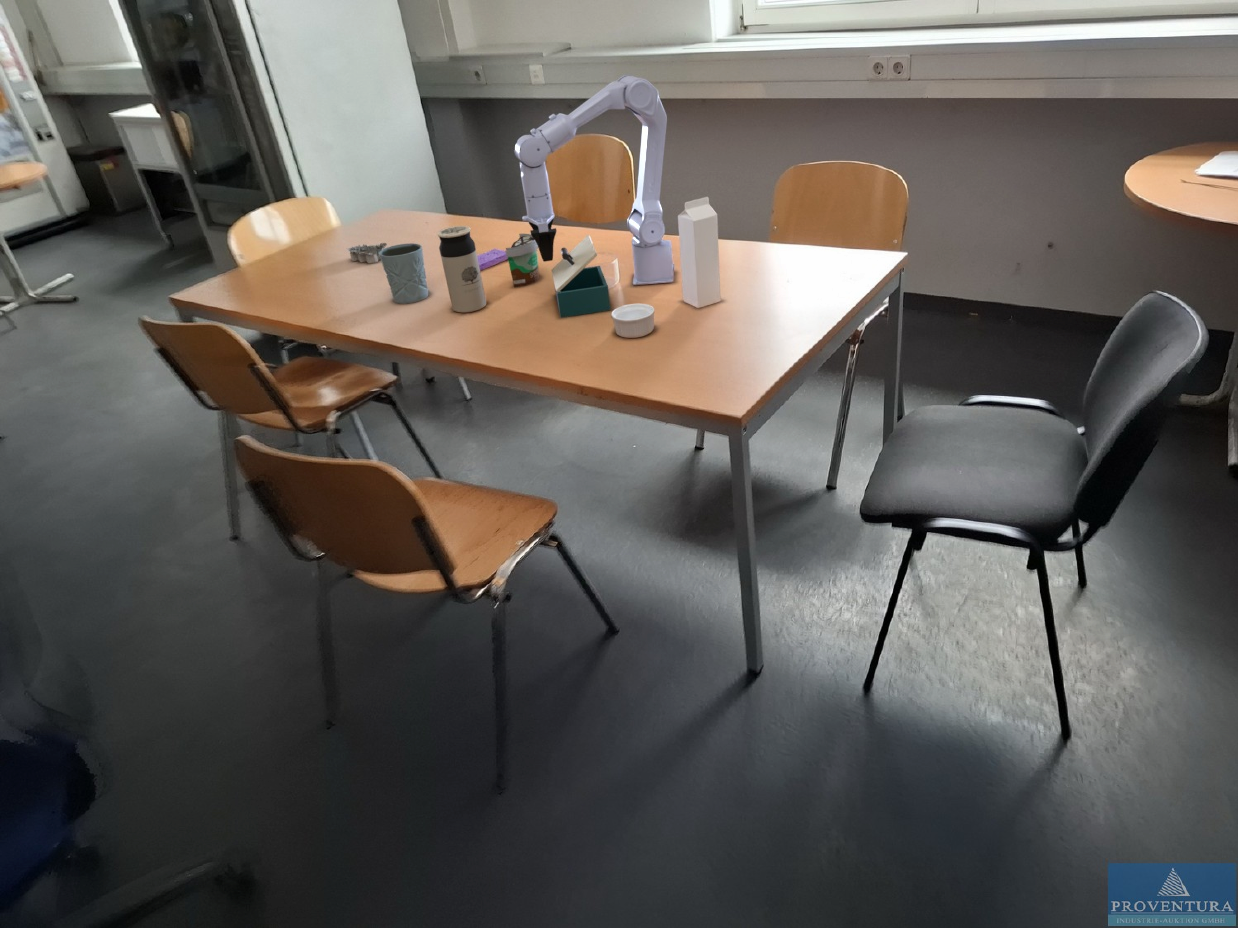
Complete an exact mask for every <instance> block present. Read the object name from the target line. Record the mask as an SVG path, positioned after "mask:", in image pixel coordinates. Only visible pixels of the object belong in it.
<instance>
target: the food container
mask: <svg viewBox="0 0 1238 928" xmlns="http://www.w3.org/2000/svg"><path fill="white" fill-rule="evenodd" d="M518 235H519V236H518V237H519V238H518V239H517V240H516V241H514V242H513V243H512V244H511V247H505V251H506V256H507V257H508V259H507V261H508V265H509V268H510V269H509V270H510V275H511V279H512V284H513V287H514V288H520V287H525V286H529V285H533V284H534V283H536V282H538V281H539V280H540V272H539V271H540V270H539V260H538V259H539V258H538V249H539V248H538V245H537V243H536V241H535V240H534V238H533V237H532V235H531V233H519V234H518Z"/></svg>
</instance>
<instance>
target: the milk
mask: <svg viewBox="0 0 1238 928" xmlns="http://www.w3.org/2000/svg"><path fill="white" fill-rule="evenodd" d="M718 222H719V221H718V213H717V212H716V211H715V210H714V208H713V207H712V206H711V205H710V198H709V196H704V197H700V198H696V199H693V200H689V201H686V202H684V210H683V211H682V212H680V213H679V214H678V215H677V225H678V241H679V256H680V257H679V258H680V272H681V286H682V287H681V289H682V301H683V302H684V303H686V304H688V305H690V306H693V307H694V308H697V309H701V308H704V307H707V306H711V305H713V304H716V303H721V301H722V299H721V276H720V274H721V273H720V272H721V271H720V247H719V246H720V245H719V224H718Z"/></svg>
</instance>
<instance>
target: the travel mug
mask: <svg viewBox="0 0 1238 928" xmlns="http://www.w3.org/2000/svg"><path fill="white" fill-rule="evenodd" d="M471 230H472V229H471V227H470V226H467V225H455V226H449V227H446V228H442V229H440V230H439V231H438V232H436V233H437V234H436V235H437V237H438V238H439V240H440V241H439V242H440V243H439V245H438V246H439V247H438V249H439V253H440V254H439V255H440V258H441V263H442V267H443V272H444V277H445V281H446V286H447V290H448V294H449V299H450V303H451V308H452V310H453V311H455V312H457V313H462V314H466V313H467V314H468V313H473V312H476V311H479V310H481V309H483V308H485V306H486V305H487V298H486V293H485V289H484V283H483V279H482V274H481V270H480V268H479V263H478V258H477V255H478V254H477V253H478V252H477V248H476V244H475V241H474V240H473V238H472V237H471Z"/></svg>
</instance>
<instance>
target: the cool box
mask: <svg viewBox="0 0 1238 928" xmlns="http://www.w3.org/2000/svg"><path fill="white" fill-rule="evenodd" d="M604 275H605V274H604V272H603V270H602V268H601V265H595V266H590V267H585V268H584V269H583V270H582V271H581V272H579V273H578V274H577V275H576V276H575V277H574V278H573V279H572V280H571V281H570V282H569V283H568V284H567V285H566V286H565V287H564V288H563V289H561V290H560V291H559V292H557V291H556V289H555V288H554V290H555V291H554V292H555V297H556V302H557V306H558V310H559V315H560V318H561V319H563V318H569V317H576V316H581V315H587V314H596V313H602V312H610V311H611V310H612V309H611V302H610V301H611V300H610V294H609V293H610V292H609V285H608V282H607V280H606V278H605V276H604ZM554 286H555V284H554Z"/></svg>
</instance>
